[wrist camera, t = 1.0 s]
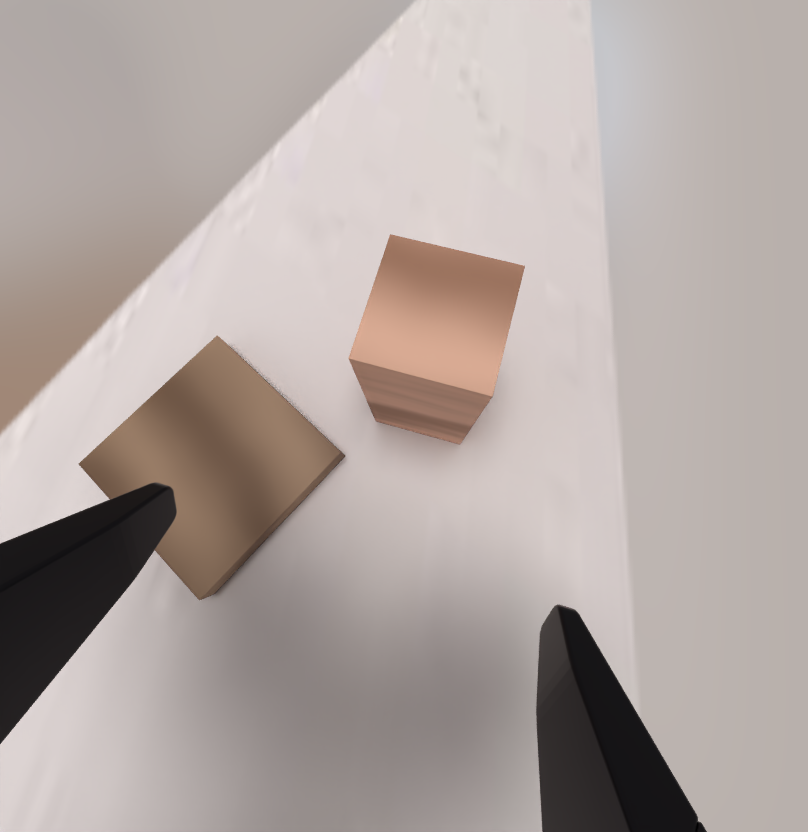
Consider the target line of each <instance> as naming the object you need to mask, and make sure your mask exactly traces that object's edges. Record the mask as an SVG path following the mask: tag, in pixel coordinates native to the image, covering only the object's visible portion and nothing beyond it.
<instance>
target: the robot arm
mask: <svg viewBox="0 0 808 832" xmlns="http://www.w3.org/2000/svg"><path fill="white" fill-rule="evenodd" d="M176 513H177V508H176V502H175V496H174V491H173V489H172V487H170V486H168V485H164V484H161V483H157V482H154V483H150V484H147V485H145V486H142V487H140V488H137V489H135V490H132V491H130V492H127V493H125V494H123V495H120V496H118V497H115V498H113V499H110V500H108V501H105V502H103V503H100V504H98V505H95V506H93V507H90V508H88V509H85V510H83V511H80V512H78V513H75V514H73V515H70V516H68V517H65V518H63V519H60V520H58V521H55V522H53V523H50V524H48V525H45V526H43V527H40V528H38V529H35V530H33V531H30V532H28V533H26V534H23V535H21V536H18V537H16V538H13V539H11V540H8V541H6V542H3V543H1V544H0V744H1V743H2V741H3V740H4V739H5V738H6V737H7V735H8V734H9V733H10V732H11V730H12V729H13V728H14V727H15V726H16V724H17V723H18V722H19V721H20V719H21V718H22V717H23V716H24V714H25V713H26V712H27V711H28V710H29V708H30V707H31V706H32V705H33V703H34V702H35V701H36V700H37V699H38V697H39V696H40V695H41V694H42V692H43V691H44V690H45V689H46V688H47V686H48V685H49V684H50V683H51V681H52V680H53V679H54V678H55V676H56V675H57V674H58V673H59V672H60V670H61V669H62V668H63V667H64V665H65V664H66V663H67V662H68V661H69V659H70V658H71V657H72V656H73V654H74V653H75V652H76V651H77V650H78V648H79V647H80V646H81V645H82V643H83V642H84V641H85V640H86V638H87V637H88V636H89V635H90V634H91V632H92V631H93V630H94V629H95V627H96V626H97V625H98V624H99V623H100V621H101V620H102V619H103V618H104V616H105V615H106V614H107V613H108V612H109V610H110V609H111V608H112V607H113V605H114V604H115V603H116V602H117V600H118V599H119V598H120V597H121V596H122V594H123V593H124V592H125V591H126V589H127V588H128V587H129V586H130V584H131V583H132V582H133V581H134V579H135V578H136V577H137V575H138V574H139V572H140V571H141V569H142V568H143V566H144V565H145V563H146V562H147V560H148V559H149V557H150V556H151V555H152V553H153V552H154V550H155V549H156V547H157V546H158V544H159V543H160V541H161V540H162V538H163V537H164V535H165V534H166V532H167V531H168V529H169V528H170V526H171V525H172V523H173V521H174V520H175V517H176ZM536 716H537V738H538V757H539V775H540V794H541V812H542V831H543V832H707V831H706V830H705V828H704V826H703V825H702V823H701V822H698V817H697V815H696V813H695V811H694V810H693V808H692V806H691V805H690V803H689V801H688V799H687V798H686V796H685V794H684V792H683V791H682V789H681V787H680V786H679V784H678V782H677V780H676V779H675V777H674V776H673V774H672V772H671V770H670V769H669V767H668V765H667V763H666V762H665V760H664V759H663V757H662V755H661V753H660V752H659V750H658V748H657V746H656V745H655V743H654V741H653V740H652V738H651V736H650V734H649V733H648V731H647V729H646V728H645V726H644V724H643V722H642V721H641V719H640V717H639V716H638V714H637V712H636V711H635V709H634V707H633V705H632V704H631V702H630V700H629V699H628V697H627V695H626V694H625V692H624V690H623V688H622V687H621V685H620V683H619V682H618V680H617V678H616V676H615V675H614V673H613V671H612V670H611V668H610V666H609V665H608V663H607V661H606V659H605V658H604V656H603V654H602V653H601V651H600V649H599V647H598V646H597V644H596V642H595V641H594V639H593V637H592V636H591V634H590V632H589V630H588V629H587V627H586V625H585V624H584V622H583V620H582V619H581V617H580V615H579V614H578V612H577V611H576V610H574V609H572V608H569V607H566V606H562V605H556V606H554V608H553V609H552V611H551V612H550V614H549V615H548V617H547V618H546V620H545V621H544V623H543V625H542V627H541V631H540V643H539V663H538V682H537V706H536Z"/></svg>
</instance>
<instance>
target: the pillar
mask: <svg viewBox="0 0 808 832" xmlns="http://www.w3.org/2000/svg"><path fill="white" fill-rule="evenodd" d="M524 268H525V266H523V265H518V264H514V263H510V262H506V261H501V260H497V259H493V258H488V257H484V256H480V255H476V254H471V253H467V252H463V251H459V250H454V249H450V248H446V247H442V246H437V245H433V244H429V243H425V242H420V241H416V240H412V239H408V238H403V237H399V236H395V235H391V234H390V237H389V240H388V243H387V246H386V249H385V252H384V255H383V258H382V261H381V264H380V266H379V269H378V272H377V275H376V278H375V281H374V284H373V287H372V290H371V293H370V296H369V299H368V302H367V305H366V308H365V311H364V314H363V317H362V320H361V323H360V326H359V329H358V332H357V335H356V338H355V341H354V344H353V347H352V350H351V353H350V356H349V360H350V363H351V365H352V367H353V370H354V372H355V374H356V376H357V379H358V381H359V383H360V386H361V388H362V390H363V393H364V395H365V397H366V399H367V402H368V404H369V406H370V409H371V411H372V413H373V416H374V418H375V420H376V421H377V422H381V423H384V424H388V425H392V426H395V427H399V428H402V429H406V430H410V431H413V432H417V433H420V434H424V435H428V436H431V437H435V438H439V439H442V440H446V441H449V442H453V443H457V444H461V442H462V441H463V439H464V438H465V436H466V435H467V433H468V432H469V430H470V429H471V427H472V426H473V424H474V423H475V422H476V420H477V419H478V417H479V416H480V414H481V413H482V411H483V410H484V408H485V407H486V405H487V404H488V402H489V401H490V399H491V398H492V396H493V392H494V388H495V384H496V380H497V376H498V372H499V368H500V364H501V360H502V356H503V352H504V348H505V344H506V340H507V336H508V332H509V328H510V324H511V320H512V316H513V312H514V308H515V304H516V300H517V296H518V292H519V288H520V284H521V280H522V276H523V272H524Z"/></svg>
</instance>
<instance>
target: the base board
mask: <svg viewBox="0 0 808 832" xmlns="http://www.w3.org/2000/svg"><path fill="white" fill-rule="evenodd" d="M344 457H345V455H344V454H343V453H342V452H341V451H340V450H338V449H337V448H336V447H335V446H334V445H333V444H332V443H331V442H330V441H329V440H328V439H327V438H326V437H325V436H324V435H323V434H322V433H321V432H319V431H318V430H317V429H316V428H315V427H314V426H313V425H312V424H311V423H310V422H309V421H308V420H307V419H306V418H305V417H304V416H303V415H302V414H300V413H299V412H298V411H297V410H296V409H295V408H294V407H293V406H292V405H291V404H290V403H289V402H288V401H287V400H286V399H285V398H284V397H282V396H281V395H280V394H279V393H278V392H277V391H276V390H275V389H274V388H273V387H272V386H271V385H270V384H269V383H268V382H267V381H266V380H265V379H263V378H262V377H261V376H260V375H259V374H258V373H257V372H256V371H255V370H254V369H253V368H252V367H251V366H250V365H249V364H248V363H247V362H246V361H244V360H243V359H242V358H241V357H240V356H239V355H238V354H237V353H236V352H235V351H234V350H233V349H232V348H231V347H230V346H229V345H227V344H226V343H225V342H224V341H223V340H222V339H221V338H220V337H218V336H216V337H215V338H214V339H213V340H212V341H211V342H210V343H209V344H207V345H206V346H205V347H204V348H203V349H202V350H201V351H200V352H199V353H198V354H197V355H196V356H194V357H193V358H192V359H191V360H190V361H189V362H188V363H187V364H186V365H185V366H184V367H183V368H182V369H180V370H179V371H178V372H177V373H176V374H175V375H174V376H173V377H172V378H171V379H170V380H169V381H168V382H166V383H165V384H164V385H163V386H162V387H161V388H160V389H159V390H158V391H157V392H156V393H155V394H153V395H152V396H151V397H150V398H149V399H148V400H147V401H146V402H145V403H144V404H143V405H142V406H141V407H139V408H138V409H137V410H136V411H135V412H134V413H133V414H132V415H131V416H130V417H129V418H128V419H127V420H125V421H124V422H123V423H122V424H121V425H120V426H119V427H118V428H117V429H116V430H115V431H114V432H112V433H111V434H110V435H109V436H108V437H107V438H106V439H105V440H104V441H103V442H102V443H101V444H100V445H98V446H97V447H96V448H95V449H94V450H93V451H92V452H91V453H90V454H89V455H88V456H87V457H86V458H84V459H83V460H82V461H81V462H80V463H79V465H80V466H81V467H82V468H83V470H84V471H85V472H86V473H87V474H88V475H89V476H90V477H91V479H92V480H93V481H94V482H95V483H96V484H97V485H98V487H99V488H100V489H101V490H102V491H103V492H104V493H105V494H106V496H107V497H108V498H109V499H113V498H115V497H118V496H120V495H123V494H125V493H127V492H130V491H132V490H135V489H137V488H140V487H142V486H145V485H147V484H150V483H154V482H157V483H161V484H164V485H168V486H170V487H172V489H173V491H174V496H175V502H176V508H177V513H176V517H175V520H174V521H173V523H172V525H171V526H170V528H169V529H168V531H167V532H166V534H165V535H164V537H163V538H162V540H161V541H160V543H159V544H158V546H157V547H156V549H155V551H156V552H157V553H158V554H159V555H160V557H161V558H162V559H163V560H164V561H165V562H166V563H167V564H168V566H169V567H170V568H171V569H172V570H173V571H174V572H175V573H176V575H177V576H178V577H179V578H180V579H181V580H182V581H183V583H184V584H185V585H186V586H187V587H188V588H189V589H190V590H191V592H192V593H193V594H194V595H195V596H196V597H197V598H198V599H199V600H201V599H204V598H206V597H209V596H211V595H213V594H215V593H216V591H217V590H218V589H219V588H220V587H221V586H222V585H223V584H224V583H225V582H226V581H227V580H228V579H229V578H230V577H231V576H232V575H233V574H234V573H235V571H236V570H237V569H238V568H239V567H240V566H241V565H242V564H243V563H244V562H245V561H246V560H247V559H248V558H249V557H250V556H251V555H252V554H253V553H254V552H255V550H256V549H257V548H258V547H259V546H260V545H261V544H262V543H263V542H264V541H265V540H266V539H267V538H268V537H269V536H270V535H271V534H272V533H273V532H274V530H275V529H276V528H277V527H278V526H279V525H280V524H281V523H282V522H283V521H284V520H285V519H286V518H287V517H288V516H289V515H290V514H291V513H292V512H293V510H294V509H295V508H296V507H297V506H298V505H299V504H300V503H301V502H302V501H303V500H304V499H305V498H306V497H307V496H308V495H309V494H310V493H311V492H312V490H313V489H314V488H315V487H316V486H317V485H318V484H319V483H320V482H321V481H322V480H323V479H324V478H325V477H326V476H327V475H328V474H329V473H330V472H331V471H332V469H333V468H334V467H335V466H336V465H337V464H338V463H339V462H340V461H341V460H342V459H343V458H344Z"/></svg>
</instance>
